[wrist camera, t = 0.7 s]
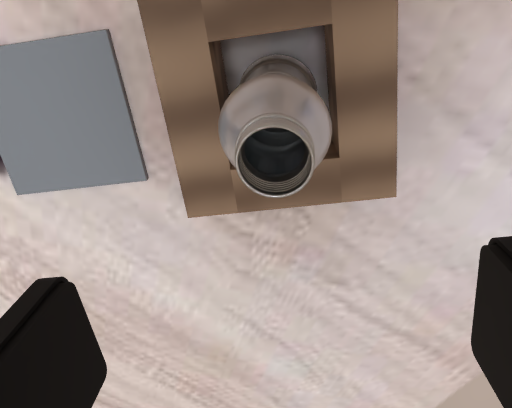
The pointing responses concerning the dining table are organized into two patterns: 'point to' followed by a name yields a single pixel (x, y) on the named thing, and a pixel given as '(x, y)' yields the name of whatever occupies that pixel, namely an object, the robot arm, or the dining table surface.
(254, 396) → the dining table surface
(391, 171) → the bore block
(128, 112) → the pad
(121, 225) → the dining table surface
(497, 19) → the dining table surface
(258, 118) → the plastic bottle
